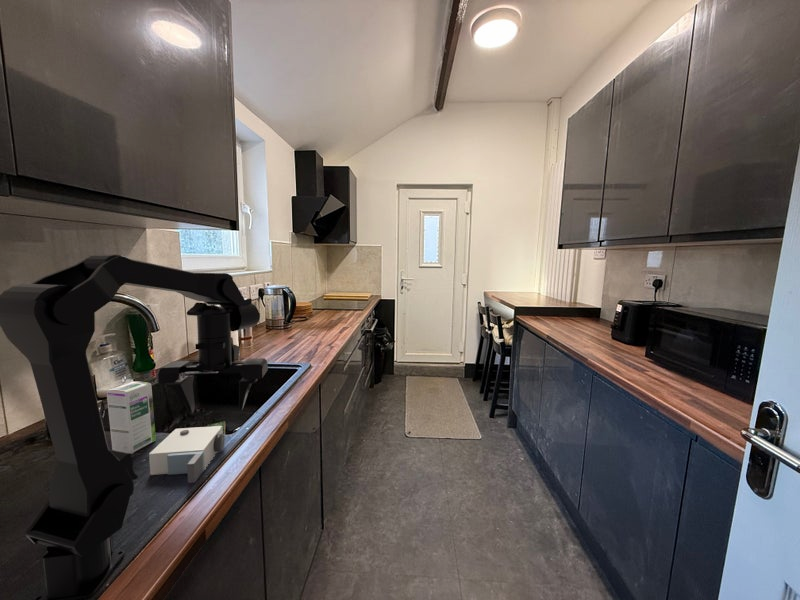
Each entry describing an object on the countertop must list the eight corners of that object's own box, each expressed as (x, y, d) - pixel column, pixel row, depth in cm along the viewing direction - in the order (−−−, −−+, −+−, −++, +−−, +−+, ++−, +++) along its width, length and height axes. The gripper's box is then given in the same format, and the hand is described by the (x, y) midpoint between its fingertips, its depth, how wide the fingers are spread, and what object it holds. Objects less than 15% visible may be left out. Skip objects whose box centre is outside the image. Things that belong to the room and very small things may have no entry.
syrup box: (131, 454, 70) (127, 391, 69) (110, 450, 71) (105, 389, 70) (156, 440, 76) (152, 382, 74) (136, 437, 77) (132, 380, 75)
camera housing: (209, 470, 65) (208, 447, 65) (150, 475, 63) (148, 452, 63) (227, 443, 75) (227, 423, 74) (176, 447, 73) (175, 427, 73)
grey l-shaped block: (195, 483, 61) (193, 463, 60) (158, 486, 60) (156, 466, 59) (204, 469, 65) (203, 451, 64) (170, 472, 64) (169, 453, 63)
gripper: (272, 327, 73) (273, 393, 74) (181, 329, 69) (184, 398, 70) (261, 337, 62) (262, 414, 63) (152, 340, 58) (157, 421, 59)
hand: (217, 411), depth 64 cm, fingers open, 9 cm apart
